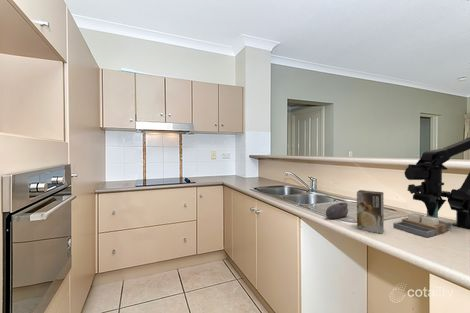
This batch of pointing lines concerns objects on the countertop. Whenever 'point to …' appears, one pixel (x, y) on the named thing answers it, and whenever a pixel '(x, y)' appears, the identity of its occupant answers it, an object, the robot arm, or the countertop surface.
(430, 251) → the countertop surface
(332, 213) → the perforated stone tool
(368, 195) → the coffee box
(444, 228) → the walnut board
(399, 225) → the box
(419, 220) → the tile
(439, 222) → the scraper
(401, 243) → the countertop surface
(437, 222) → the tile
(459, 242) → the countertop surface
